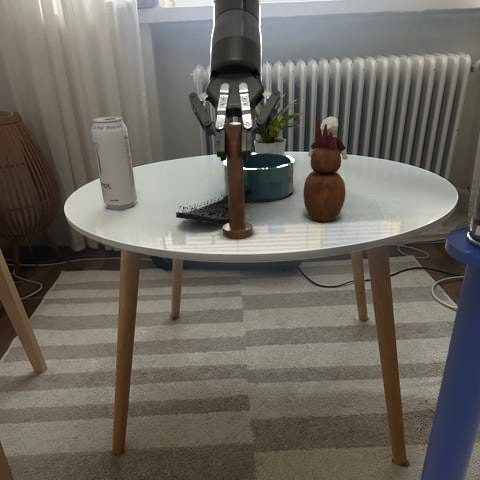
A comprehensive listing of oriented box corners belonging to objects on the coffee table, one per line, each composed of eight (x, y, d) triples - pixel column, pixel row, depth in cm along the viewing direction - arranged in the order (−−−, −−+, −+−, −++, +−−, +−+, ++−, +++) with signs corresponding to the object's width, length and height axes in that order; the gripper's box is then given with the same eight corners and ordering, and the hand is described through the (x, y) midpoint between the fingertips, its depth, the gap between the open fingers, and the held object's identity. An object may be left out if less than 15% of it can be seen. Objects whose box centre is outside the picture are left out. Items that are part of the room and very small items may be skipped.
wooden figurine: (297, 215, 83) (299, 119, 75) (327, 210, 85) (332, 116, 77) (317, 227, 77) (322, 126, 70) (348, 221, 79) (357, 122, 71)
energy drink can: (102, 203, 93) (87, 118, 85) (134, 198, 94) (122, 115, 87) (107, 212, 88) (91, 122, 80) (140, 207, 89) (128, 119, 82)
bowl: (303, 187, 97) (304, 155, 94) (275, 206, 87) (275, 171, 84) (245, 180, 103) (244, 151, 100) (212, 198, 93) (210, 165, 90)
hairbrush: (281, 179, 92) (206, 210, 73) (281, 198, 93) (208, 235, 74) (243, 175, 95) (162, 204, 76) (243, 194, 97) (164, 227, 78)
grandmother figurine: (345, 182, 99) (350, 114, 93) (345, 187, 96) (351, 118, 90) (307, 181, 101) (309, 115, 94) (306, 186, 97) (308, 118, 91)
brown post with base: (257, 231, 77) (255, 121, 69) (243, 240, 73) (240, 127, 65) (232, 227, 79) (227, 120, 71) (217, 236, 75) (210, 125, 67)
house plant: (258, 182, 101) (257, 96, 93) (223, 170, 112) (219, 91, 103) (312, 171, 108) (315, 89, 100) (274, 160, 118) (274, 85, 110)
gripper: (185, 35, 69) (179, 142, 65) (283, 31, 69) (284, 140, 64) (193, 74, 77) (188, 173, 72) (282, 71, 76) (283, 171, 71)
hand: (233, 157), depth 68 cm, fingers closed on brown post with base, 2 cm apart
